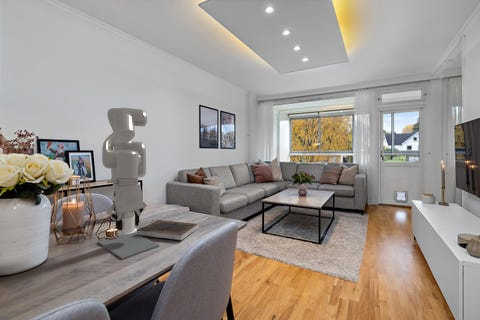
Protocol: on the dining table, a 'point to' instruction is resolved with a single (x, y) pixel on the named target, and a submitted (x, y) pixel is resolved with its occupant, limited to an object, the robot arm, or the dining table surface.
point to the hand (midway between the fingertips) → (127, 226)
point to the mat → (128, 245)
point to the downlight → (127, 223)
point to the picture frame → (167, 229)
